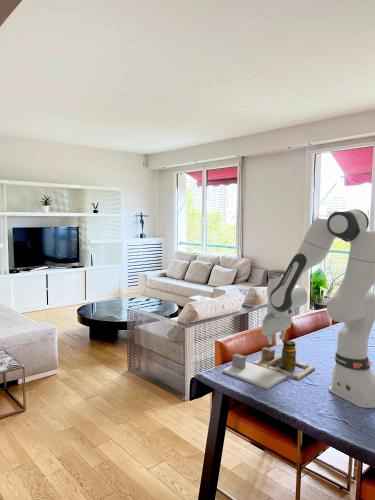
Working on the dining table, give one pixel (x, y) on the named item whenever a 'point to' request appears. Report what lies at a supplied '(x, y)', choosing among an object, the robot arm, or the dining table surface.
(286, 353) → the condiment
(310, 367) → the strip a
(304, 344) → the dining table surface
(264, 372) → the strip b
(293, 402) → the dining table surface
